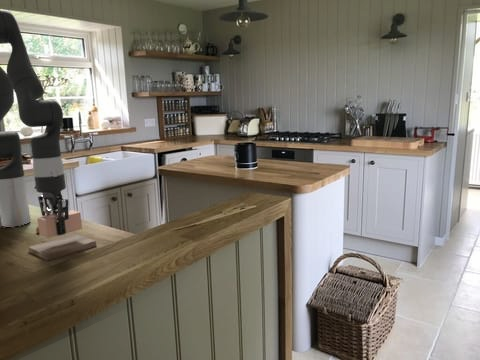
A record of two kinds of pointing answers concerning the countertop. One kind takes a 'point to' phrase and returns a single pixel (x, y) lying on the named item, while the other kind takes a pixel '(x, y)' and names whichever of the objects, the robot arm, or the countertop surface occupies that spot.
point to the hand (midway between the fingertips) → (57, 232)
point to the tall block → (49, 224)
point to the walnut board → (61, 246)
